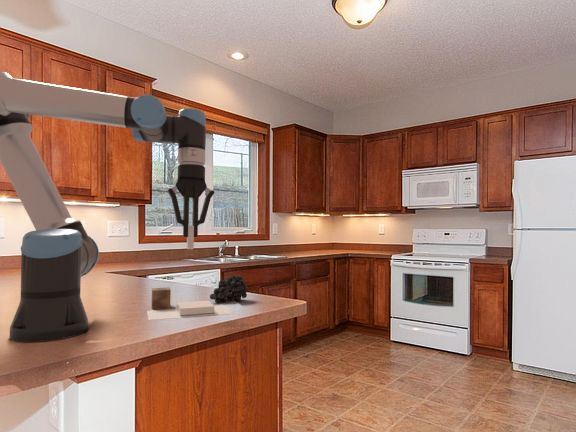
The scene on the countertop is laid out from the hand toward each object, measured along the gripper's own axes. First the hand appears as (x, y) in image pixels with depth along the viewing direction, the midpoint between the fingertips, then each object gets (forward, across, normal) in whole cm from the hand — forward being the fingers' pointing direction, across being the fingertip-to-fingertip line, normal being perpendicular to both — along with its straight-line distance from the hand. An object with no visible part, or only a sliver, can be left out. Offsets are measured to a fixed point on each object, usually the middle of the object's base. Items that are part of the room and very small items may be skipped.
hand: (190, 249), depth 109 cm
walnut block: (+18, -7, +10) cm, 22 cm away
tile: (+17, -3, 0) cm, 17 cm away
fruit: (+18, +14, +15) cm, 27 cm away
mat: (+18, 0, 0) cm, 18 cm away
